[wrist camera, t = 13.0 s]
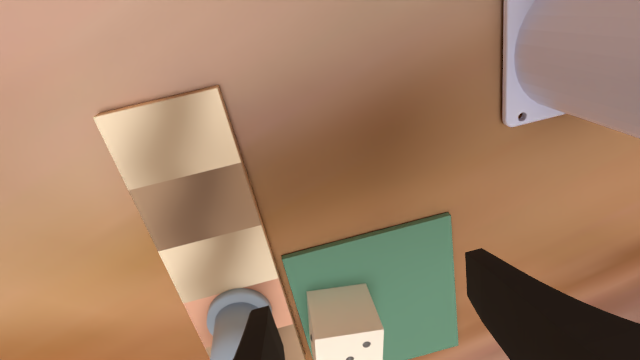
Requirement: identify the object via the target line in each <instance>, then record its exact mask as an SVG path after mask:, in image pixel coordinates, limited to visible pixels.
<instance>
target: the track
mask: <svg viewBox="0 0 640 360" xmlns="http://www.w3.org/2000/svg"><path fill="white" fill-rule="evenodd" d="M93 119H94V121H95V123H96V125H97V127H98V129H99V131H100V133H101V135H102V137H103V139H104V141H105V143H106V145H107V147H108V149H109V152H110V154H111V156H112V158H113V160H114V162H115V164H116V166H117V168H118V170H119V172H120V174H121V176H122V178H123V180H124V182H125V184H126V187H127V189H128V191H129V193H130V195H131V197H132V199H133V201H134V203H135V205H136V207H137V209H138V211H139V213H140V215H141V217H142V219H143V222H144V224H145V226H146V228H147V230H148V232H149V234H150V236H151V238H152V240H153V242H154V244H155V246H156V248H157V250H158V252H159V254H160V257H161V259H162V261H163V263H164V265H165V267H166V269H167V271H168V273H169V275H170V277H171V279H172V281H173V283H174V285H175V287H176V290H177V292H178V294H179V296H180V298H181V300H182V302H183V304H184V306H185V308H186V310H187V312H188V314H189V316H190V318H191V320H192V322H193V325H194V327H195V329H196V331H197V333H198V335H199V337H200V339H201V341H202V343H203V345H204V347H205V349H206V351H207V353H208V355H209V357H210V355H211V347H212V340H213V336H212V335H211V333H210V332H209V330H208V327H207V315H208V309H209V306H210V304H211V302H212V301H213V300H214V299H215V298H216V297H217V296H218V295H220V294H221V293H223V292H225V291H228V290H231V289H236V288H248V289H252V290H255V291H258V292H260V293H261V294H263V295H264V296H265V297H266V298H267V299H268V300H269V302H270V304H271V307H272V316H273V318H274V321H275V324H276V327H277V329H278V332H279V335H280V337H281V340H282V343H283V346H284V354H285V360H306V358H305V353H304V350H303V347H302V344H301V341H300V338H299V334H298V331H297V328H296V325H295V322H294V319H293V316H292V313H291V309H290V306H289V303H288V300H287V297H286V294H285V291H284V288H283V284H282V281H281V278H280V275H279V272H278V269H277V266H276V263H275V260H274V256H273V253H272V250H271V247H270V244H269V241H268V238H267V235H266V231H265V228H264V225H263V222H262V219H261V216H260V213H259V210H258V206H257V203H256V200H255V197H254V194H253V191H252V188H251V185H250V182H249V178H248V175H247V172H246V169H245V166H244V163H243V160H242V157H241V153H240V150H239V147H238V144H237V141H236V138H235V135H234V132H233V128H232V125H231V122H230V119H229V116H228V113H227V110H226V107H225V104H224V100H223V97H222V94H221V91H220V88H219V85H217V86H212V87H208V88H204V89H200V90H195V91H191V92H187V93H183V94H179V95H174V96H170V97H166V98H162V99H157V100H153V101H149V102H145V103H141V104H136V105H132V106H128V107H124V108H119V109H115V110H111V111H107V112H103V113H99V114H97V115H96V116H94V117H93Z"/></svg>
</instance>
